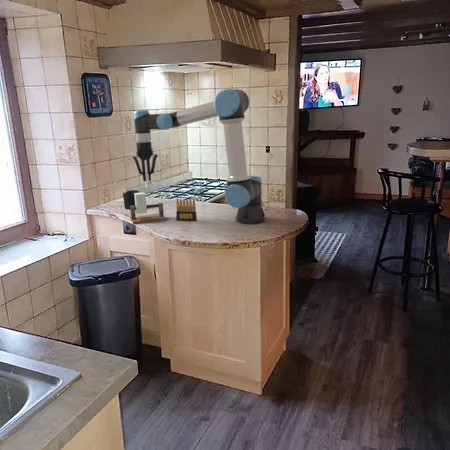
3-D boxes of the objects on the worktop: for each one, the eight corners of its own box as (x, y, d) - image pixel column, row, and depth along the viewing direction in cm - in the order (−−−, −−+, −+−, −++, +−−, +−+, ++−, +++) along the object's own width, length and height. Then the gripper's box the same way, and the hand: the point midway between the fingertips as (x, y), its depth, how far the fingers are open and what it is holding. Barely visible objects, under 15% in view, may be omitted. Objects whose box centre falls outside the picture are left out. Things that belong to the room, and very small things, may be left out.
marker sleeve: (146, 212, 227) (145, 193, 224) (137, 213, 225) (135, 194, 222) (145, 210, 231) (143, 192, 228) (135, 211, 230) (134, 193, 227)
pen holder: (142, 208, 255) (140, 192, 253) (126, 210, 251) (124, 194, 248) (137, 205, 263) (136, 189, 261) (122, 207, 259) (120, 191, 257)
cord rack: (165, 220, 228) (164, 205, 225) (133, 224, 222) (132, 208, 220) (161, 215, 239) (159, 200, 236) (130, 218, 233) (128, 204, 231)
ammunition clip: (176, 220, 227) (175, 198, 224) (177, 219, 228) (176, 197, 225) (195, 221, 224) (194, 198, 221) (196, 220, 226) (195, 197, 223)
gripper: (154, 140, 225) (158, 184, 231) (129, 141, 221) (134, 187, 227) (157, 141, 218) (161, 187, 225) (131, 142, 214) (136, 189, 220)
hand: (147, 187), depth 226 cm, fingers closed
